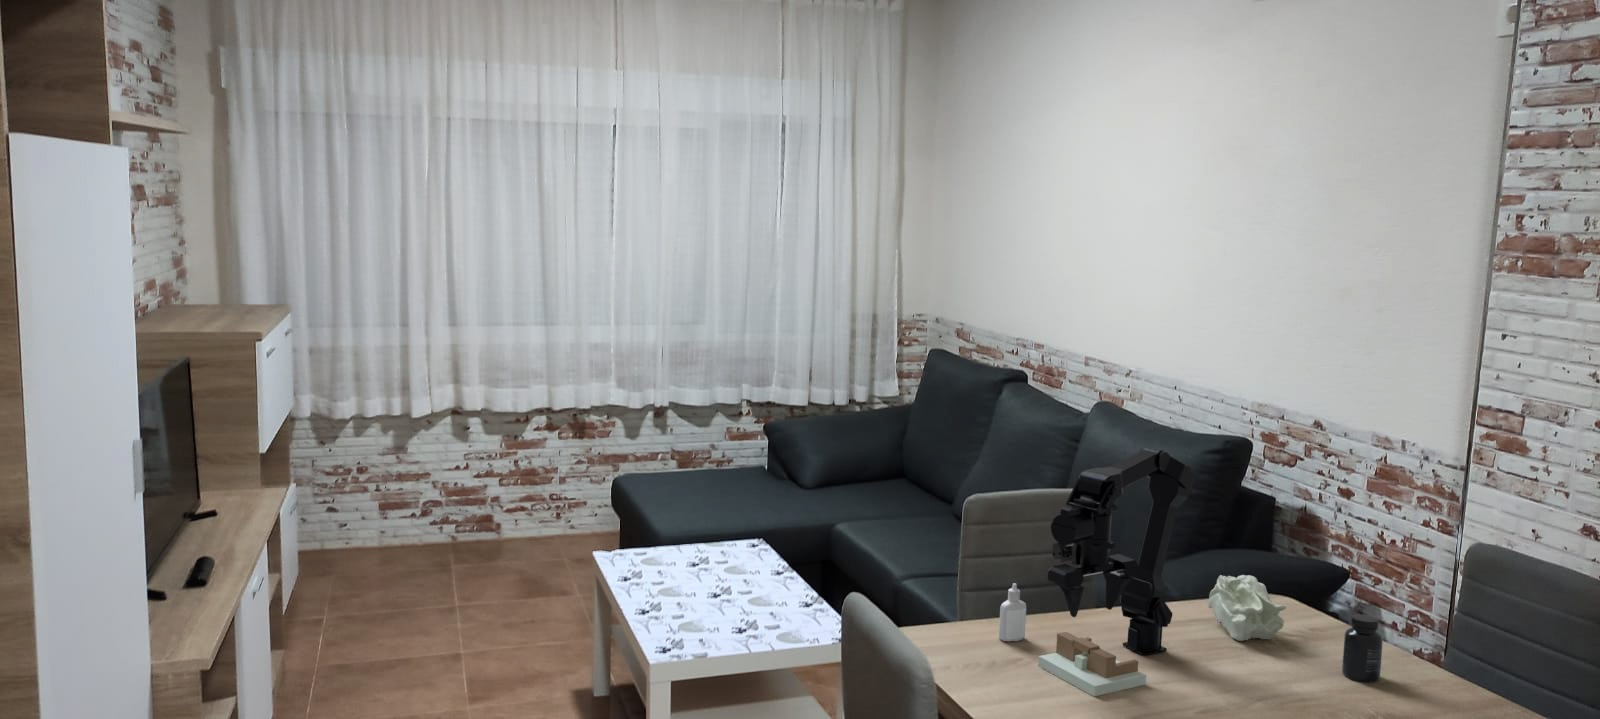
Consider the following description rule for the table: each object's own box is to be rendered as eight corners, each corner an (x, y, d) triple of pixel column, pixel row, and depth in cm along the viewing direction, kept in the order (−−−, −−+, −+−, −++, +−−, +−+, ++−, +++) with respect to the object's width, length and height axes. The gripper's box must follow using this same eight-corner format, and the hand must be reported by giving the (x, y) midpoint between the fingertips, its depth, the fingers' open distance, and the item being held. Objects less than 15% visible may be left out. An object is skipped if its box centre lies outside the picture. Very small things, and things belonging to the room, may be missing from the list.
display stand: (1088, 655, 236) (1089, 635, 236) (1145, 684, 222) (1147, 663, 222) (1038, 665, 230) (1039, 645, 230) (1094, 696, 216) (1095, 674, 216)
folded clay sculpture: (1263, 669, 249) (1301, 618, 242) (1209, 655, 247) (1246, 603, 239) (1235, 610, 265) (1270, 560, 257) (1184, 597, 262) (1218, 546, 255)
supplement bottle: (1377, 672, 231) (1382, 615, 230) (1381, 685, 225) (1387, 626, 223) (1339, 667, 234) (1344, 610, 232) (1343, 680, 227) (1348, 621, 226)
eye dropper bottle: (1026, 643, 242) (1029, 587, 241) (999, 642, 242) (1002, 586, 241) (1023, 635, 247) (1026, 581, 245) (996, 634, 247) (999, 580, 245)
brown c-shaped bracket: (1087, 646, 236) (1088, 625, 235) (1137, 671, 224) (1139, 649, 223) (1056, 652, 232) (1057, 631, 231) (1105, 678, 220) (1106, 656, 219)
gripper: (1101, 519, 237) (1097, 593, 239) (1030, 531, 228) (1027, 607, 230) (1142, 533, 227) (1137, 610, 229) (1069, 546, 218) (1065, 625, 220)
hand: (1091, 612), depth 227 cm, fingers open, 9 cm apart
